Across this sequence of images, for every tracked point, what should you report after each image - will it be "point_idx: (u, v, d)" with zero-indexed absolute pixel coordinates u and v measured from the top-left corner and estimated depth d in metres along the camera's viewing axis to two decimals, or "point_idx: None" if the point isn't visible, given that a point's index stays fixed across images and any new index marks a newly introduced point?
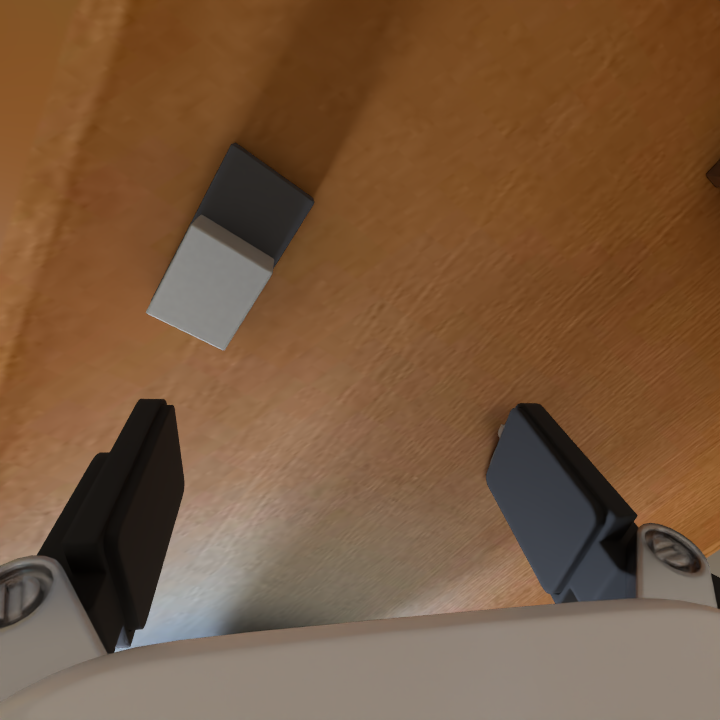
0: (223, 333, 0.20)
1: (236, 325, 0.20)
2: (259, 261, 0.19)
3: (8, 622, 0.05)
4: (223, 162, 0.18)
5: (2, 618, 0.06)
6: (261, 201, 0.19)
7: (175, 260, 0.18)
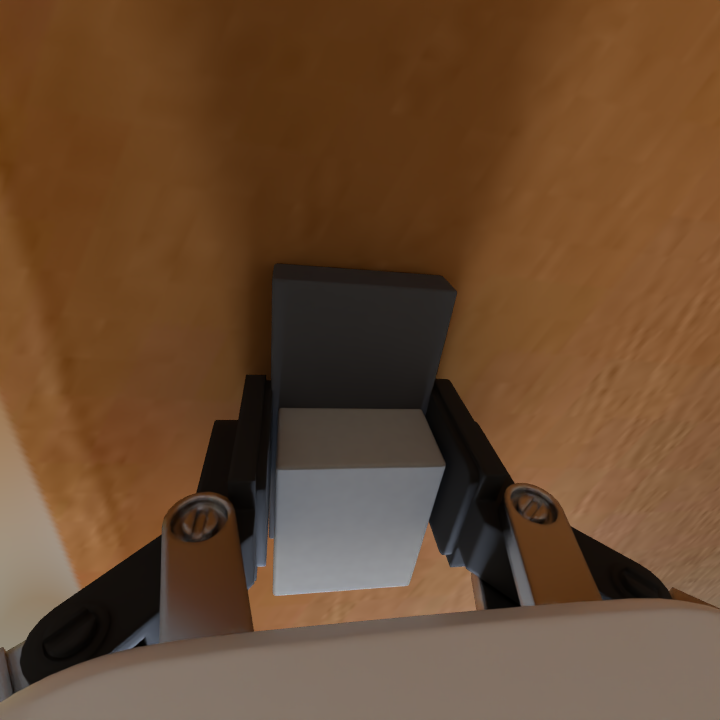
0: (399, 569, 0.11)
1: (415, 552, 0.11)
2: (413, 453, 0.10)
3: (192, 539, 0.07)
4: (274, 316, 0.09)
5: (189, 534, 0.07)
6: (364, 339, 0.10)
7: (279, 523, 0.10)
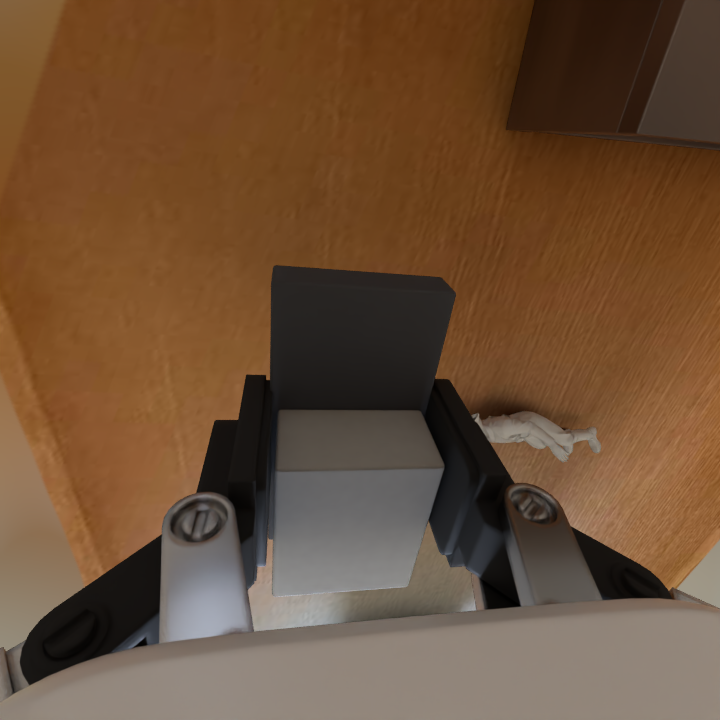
0: (398, 570, 0.11)
1: (414, 553, 0.11)
2: (412, 455, 0.10)
3: (192, 539, 0.07)
4: (273, 318, 0.09)
5: (189, 534, 0.07)
6: (363, 341, 0.10)
7: (278, 525, 0.10)
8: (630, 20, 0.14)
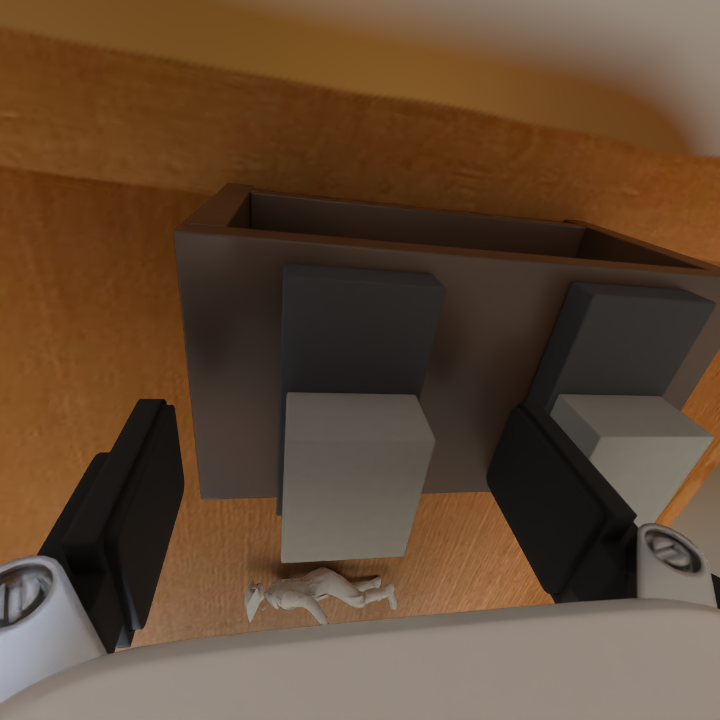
0: (395, 540, 0.13)
1: (409, 524, 0.12)
2: (406, 431, 0.11)
3: (8, 622, 0.05)
4: (284, 309, 0.11)
5: (2, 618, 0.06)
6: (364, 330, 0.11)
7: (287, 493, 0.11)
8: None
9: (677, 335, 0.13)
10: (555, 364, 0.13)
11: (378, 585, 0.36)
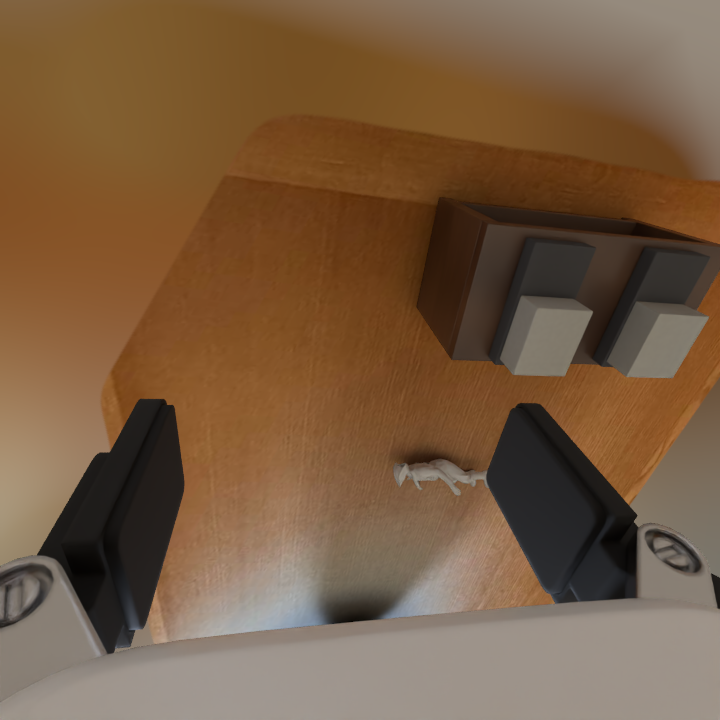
0: (563, 365, 0.28)
1: (572, 356, 0.27)
2: (580, 308, 0.26)
3: (8, 622, 0.05)
4: (531, 256, 0.26)
5: (2, 618, 0.06)
6: (559, 266, 0.26)
7: (529, 334, 0.26)
8: (451, 305, 0.31)
9: (692, 272, 0.28)
10: (635, 287, 0.28)
11: None
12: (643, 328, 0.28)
